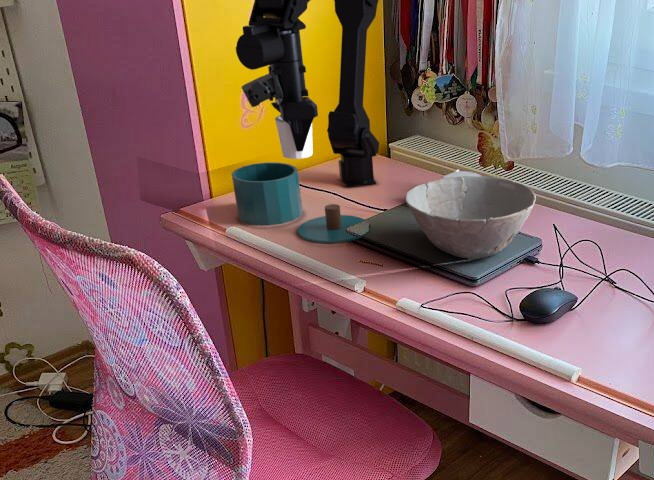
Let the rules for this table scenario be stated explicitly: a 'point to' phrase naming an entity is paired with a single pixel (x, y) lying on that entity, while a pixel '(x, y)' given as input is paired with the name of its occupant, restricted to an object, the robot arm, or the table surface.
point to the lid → (330, 227)
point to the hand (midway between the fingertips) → (296, 146)
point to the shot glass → (292, 141)
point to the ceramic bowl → (471, 213)
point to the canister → (267, 193)
